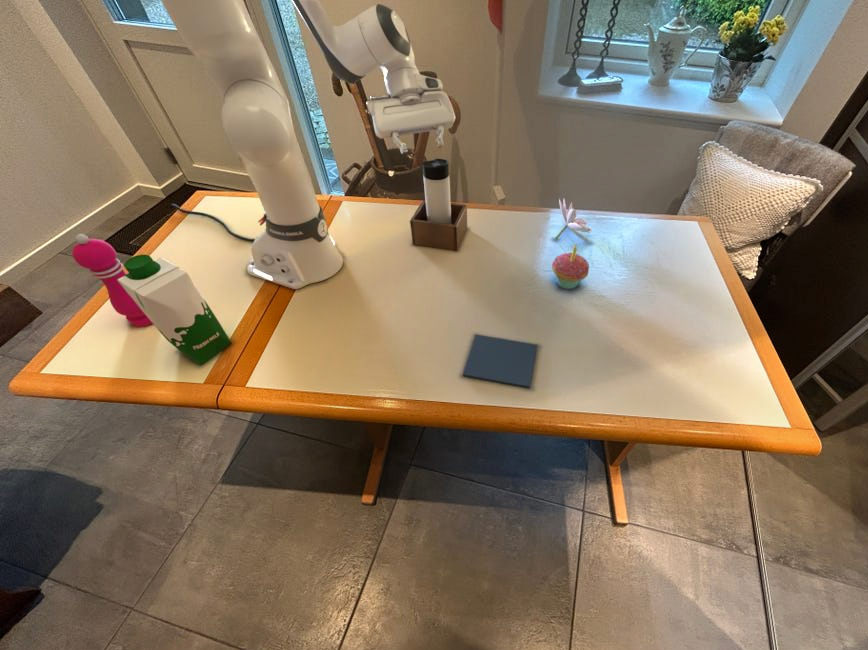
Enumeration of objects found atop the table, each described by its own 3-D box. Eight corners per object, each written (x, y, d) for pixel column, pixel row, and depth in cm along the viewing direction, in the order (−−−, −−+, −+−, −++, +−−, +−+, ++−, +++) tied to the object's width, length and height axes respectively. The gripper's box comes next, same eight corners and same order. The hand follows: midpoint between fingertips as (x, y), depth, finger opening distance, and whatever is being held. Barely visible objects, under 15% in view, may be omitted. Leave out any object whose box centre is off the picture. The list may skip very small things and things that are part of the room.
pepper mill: (174, 310, 88) (111, 228, 73) (146, 332, 84) (74, 249, 68) (148, 302, 89) (82, 220, 74) (119, 323, 85) (43, 241, 70)
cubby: (412, 244, 106) (409, 220, 100) (425, 222, 113) (423, 199, 107) (457, 251, 104) (456, 226, 99) (467, 228, 111) (466, 204, 106)
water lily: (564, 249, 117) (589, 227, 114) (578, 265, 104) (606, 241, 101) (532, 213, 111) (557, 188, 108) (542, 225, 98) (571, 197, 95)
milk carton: (211, 326, 85) (155, 244, 70) (239, 342, 82) (186, 261, 67) (172, 351, 80) (102, 270, 65) (200, 370, 77) (133, 289, 62)
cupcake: (584, 296, 93) (596, 252, 84) (547, 291, 94) (555, 247, 85) (585, 274, 98) (596, 230, 89) (550, 269, 99) (558, 225, 90)
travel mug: (434, 245, 105) (428, 168, 90) (425, 233, 109) (417, 157, 94) (456, 239, 107) (453, 163, 92) (446, 227, 111) (442, 152, 96)
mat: (462, 376, 77) (462, 374, 77) (475, 336, 84) (475, 334, 84) (529, 388, 75) (530, 386, 75) (536, 346, 82) (537, 344, 82)
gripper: (364, 89, 92) (383, 150, 94) (447, 79, 98) (463, 137, 99) (363, 104, 98) (381, 162, 100) (442, 94, 104) (457, 149, 105)
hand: (423, 149), depth 99 cm, fingers open, 8 cm apart
